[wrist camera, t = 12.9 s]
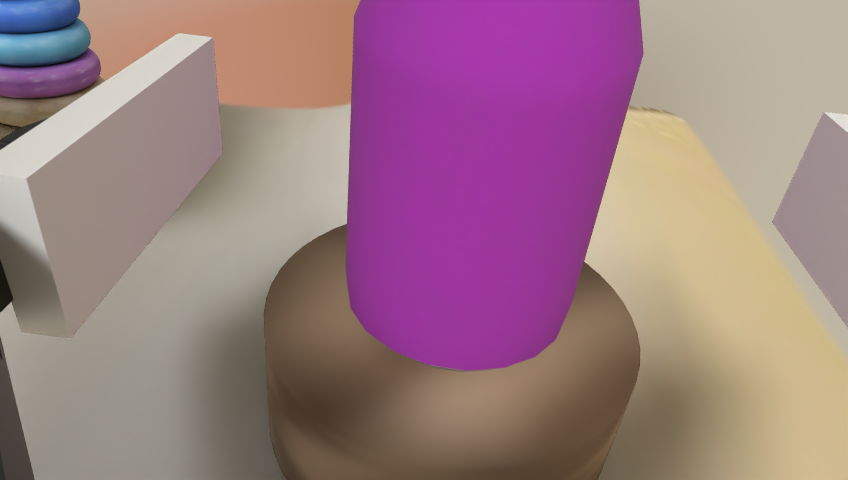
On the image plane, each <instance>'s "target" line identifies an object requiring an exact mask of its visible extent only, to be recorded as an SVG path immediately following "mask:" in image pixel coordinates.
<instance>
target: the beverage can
mask: <svg viewBox="0 0 848 480" xmlns="http://www.w3.org/2000/svg"><path fill="white" fill-rule="evenodd" d="M642 57H643V42H642V30H641V18H640V6H639V0H361V1H360V3H359V5H358V8H357V10H356V13H355V15H354V37H353V66H352V95H351V124H350V153H349V182H348V211H347V240H346V279H347V288H348V294H349V301H350V307H351V310H352V311H353V313H354V314H355V316H356V317H357V319H358V320H359V322H360V323H361V324H362V326H363V327H364V329H365V330H366V331H367V332H368V333H369V334H371V335H372V336H373V337H375V338H376V339H377V340H379V341H380V342H381V343H383V344H384V345H385V346H387V347H388V348H389V349H391V350H392V351H395V352H397V353H399V354H401V355H402V356H404V357H406V358H409V359H411V360H414V361H416V362H419V363H421V364H424V365H426V366H429V367H432V368H438V369H445V370H451V371H457V372H470V371H483V370H492V369H497V368H506V367H508V366H511V365H514V364H517V363H520V362H522V361H525V360H528V359H531V358H534V357H536V356H537V355H538V354H539V353H541V352H542V351H543V350H544V349H545V348H547V347H548V346H549V345H550V344H551V343H553V342H554V341H555V340H556V338H557V336H558V334H559V332H560V329H561V327H562V325H563V322H564V320H565V318H566V316H567V313H568V311H569V309H570V306H571V304H572V301H573V298H574V294H575V291H576V288H577V284H578V281H579V277H580V274H581V270H582V267H583V263H584V260H585V256H586V253H587V249H588V246H589V242H590V239H591V235H592V232H593V228H594V225H595V221H596V218H597V214H598V211H599V207H600V204H601V200H602V197H603V193H604V190H605V186H606V183H607V179H608V176H609V172H610V169H611V165H612V162H613V158H614V155H615V151H616V148H617V144H618V141H619V137H620V134H621V130H622V127H623V123H624V120H625V116H626V113H627V109H628V106H629V102H630V99H631V95H632V92H633V88H634V85H635V81H636V78H637V74H638V71H639V67H640V64H641V60H642Z"/></svg>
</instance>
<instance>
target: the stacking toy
mask: <svg viewBox="0 0 848 480" xmlns="http://www.w3.org/2000/svg"><path fill="white" fill-rule="evenodd" d="M79 13H80V3H79V1H78V0H0V123H4V124H8V125H12V126H19V127H23V126H26V125H29V124H32V123H35V122H38V121H41V120H43V119H46V118H50V117H51V116H53V115H54V114H56V113H57V112H59V111H60V110H62V109H63V108H65V107H67V106H68V105H70V104H71V103H73V102H74V101H76V100H77V99H79V98H80V97H82V96H83V95H85V94H86V93H88V92H89V91H91V90H92V89H94V88H95V87H97V86H98V85H100V84H101V83H103V82H105V81H104V80H103V79H102V78H101V77H100V76H99V75H100V71H101V66H100V61H99V59H98V56H97V55H96V54H95V53H94V52H93V51H92V50H91V49H89V48H88V46H89V45H90V38H91V37H90V32H89V30H88V28H87V26H86V25H85V24H84V22H83V21H81V20H80V19H78V18H77V17H78V15H79Z"/></svg>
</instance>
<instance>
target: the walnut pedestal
mask: <svg viewBox="0 0 848 480" xmlns="http://www.w3.org/2000/svg"><path fill="white" fill-rule="evenodd" d="M346 240H347V224H346V225H343V226H340V227H338V228H335V229H333V230H331V231H329V232H327V233H325V234H323V235H321V236H319V237H317V238H315V239H314V240H312V241H311V242H309V243H308V244H306V245H305V246H303V247H302V248H301V249H300V250H299V251H297V252H296V253H295V254H294V255H293V256H292V257H291V258H290V259H289V260H288V261H287V262H286V263H285V265H284V266H283V267H282V268H281V269H280V271H279V272H278V274H277V276H276V277H275V279H274V281H273V282H272V285H271V287H270V290H269V292H268V295H267V298H266V304H265V310H264V329H265V348H266V366H267V384H268V403H269V421H270V435H271V440H272V444H273V449H274V453H275V455H276V458H277V460H278V463H279V465H280V468H281V470H282V472H283V474H284V475H285V477H286V479H287V480H598V478H599V475H600V473H601V470H602V468H603V465H604V462H605V460H606V457H607V455H608V452H609V450H610V447H611V445H612V442H613V440H614V437H615V434H616V432H617V429H618V427H619V424H620V422H621V419H622V417H623V414H624V412H625V409H626V406H627V404H628V401H629V399H630V396H631V394H632V391H633V389H634V386H635V384H636V380H637V376H638V371H639V367H640V345H639V340H638V334H637V331H636V328H635V325H634V323H633V320H632V317H631V315H630V314H629V312H628V310H627V308H626V306H625V305H624V303H623V301H622V300H621V299H620V297H619V296H618V295H617V293H616V292H615V291H614V289H613V288H612V287H611V286H610V285H609V284H608V283H607V282H606V281H605V280H604V279H603V278H602V277H601V276H600V275H599V274H598V273H597V272H596V271H595V270H593V269H592V268H591V267H590V266H589V265H588V264H586V263H585V262H584V263H583V267H582V270H581V274H580V277H579V281H578V284H577V288H576V291H575V294H574V298H573V301H572V304H571V306H570V309H569V311H568V313H567V316H566V318H565V320H564V322H563V325H562V327H561V329H560V332H559V334H558V336H557V338H556V340H555V341H554V342H553V343H551V344H550V345H549V346H548V347H547V348H545V349H544V350H543V351H542V352H541V353H539V354H538V355H537V356H536V357H534V358H531V359H528V360H525V361H522V362H520V363H517V364H514V365H511V366H508V367H506V368H497V369H492V370H483V371H470V372H457V371H451V370H445V369H438V368H432V367H429V366H426V365H424V364H421V363H419V362H416V361H414V360H411V359H409V358H406V357H404V356H402V355H401V354H399V353H397V352H395V351H392V350H391V349H389V348H388V347H387V346H385V345H384V344H383V343H381V342H380V341H379V340H377V339H376V338H375V337H373V336H372V335H371V334H369V333H368V332H367V331H366V330H365V329H364V327H363V326H362V324H361V323H360V322H359V320H358V319H357V317H356V316H355V314H354V313H353V311H352V310H351V307H350V301H349V294H348V288H347V279H346Z"/></svg>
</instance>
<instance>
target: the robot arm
mask: <svg viewBox="0 0 848 480" xmlns="http://www.w3.org/2000/svg"><path fill="white" fill-rule="evenodd" d="M222 154H223V147H222V135H221V124H220V112H219V100H218V90H217V77H216V65H215V54H214V42H213V37H207V36H199V35H190V34H182V33H177V34H176V35H175V36H173V37H171V38H170V39H169V40H167V41H165V42H164V43H162V44H161V45H159V46H158V47H156V48H155V49H153V50H152V51H150V52H149V53H147V54H146V55H144V56H143V57H141V58H140V59H138V60H137V61H135V62H133V63H132V64H131V65H129V66H127V67H126V68H124V69H123V70H121V71H120V72H118V73H117V74H115V75H114V76H112V77H111V78H109V79H108V80H106V81H105V82H103V83H101V84H100V85H98V86H97V87H95V88H94V89H92V90H91V91H89V92H88V93H86V94H85V95H83V96H82V97H80V98H79V99H77V100H76V101H74V102H73V103H71V104H70V105H68V106H67V107H65V108H63V109H62V110H60V111H59V112H57V113H56V114H54V115H53V116H51V117H50V118H46V119H43V120H41V121H38V122H35V123H32V124H29V125H26V126H23V127H20V128H18V129H17V130H15V131H14V132H12V133H11V134H9V135H7V136H6V137H4V138H3V139H1V140H0V312H1V311H2V310H3V309H4V308H5V307H6V306H7V305H8V304H9V303H10V302H11V301H12V304H13V308H14V311H15V314H16V317H17V320H18V323H19V326H20V329H21V332H27V333H34V334H42V335H49V336H57V337H64V338H71V337H72V336H73V335H74V334H75V332H76V331H77V330H78V329H79V328H80V326H81V325H82V324H83V323H84V322H85V320H86V319H87V318H88V317H89V315H90V314H91V313H92V312H93V311H94V309H95V308H96V307H97V306H98V304H99V303H100V302H101V301H102V300H103V298H104V297H105V296H106V295H107V294H108V292H109V291H110V290H111V289H112V287H113V286H114V285H115V284H116V283H117V281H118V280H119V279H120V278H121V276H122V275H123V274H124V273H125V272H126V270H127V269H128V268H129V267H130V266H131V264H132V263H133V262H134V261H135V259H136V258H137V257H138V256H139V255H140V253H141V252H142V251H143V250H144V248H145V247H146V246H147V245H148V244H149V242H150V241H151V240H152V239H153V238H154V236H155V235H156V234H157V233H158V231H159V230H160V229H161V228H162V227H163V225H164V224H165V223H166V222H167V220H168V219H169V218H170V217H171V216H172V214H173V213H174V212H175V211H176V210H177V208H178V207H179V206H180V205H181V203H182V202H183V201H184V200H185V199H186V197H187V196H188V195H189V194H190V192H191V191H192V190H193V189H194V188H195V186H196V185H197V184H198V183H199V182H200V180H201V179H202V178H203V177H204V175H205V174H206V173H207V172H208V171H209V169H210V168H211V167H212V166H213V164H214V163H215V162H216V161H217V160H218V158H219V157H220V156H221V155H222ZM772 222H773V224H774V225H775V227H776V228H777V230H778V231H779V232H780V234H781V235H782V237H783V238H784V239H785V241H786V242H787V243H788V245H789V246H790V248H791V249H792V250H793V252H794V253H795V255H796V256H797V257H798V259H799V260H800V262H801V263H802V264H803V266H804V267H805V269H806V270H807V271H808V273H809V274H810V276H811V277H812V278H813V280H814V281H815V283H816V284H817V285H818V287H819V288H820V290H821V291H822V292H823V294H824V295H825V297H826V298H827V299H828V301H829V302H830V304H831V305H832V306H833V308H834V309H835V311H836V312H837V313H838V315H839V316H840V317H841V319H842V320H843V322H844V323H845V325H846V326H847V327H848V115H845V114H837V113H829V112H823V114H822V116H821V118H820V120H819V122H818V124H817V127H816V129H815V131H814V133H813V135H812V137H811V139H810V142H809V144H808V146H807V148H806V150H805V152H804V155H803V157H802V159H801V161H800V163H799V165H798V167H797V170H796V172H795V174H794V176H793V179H792V180H791V183H790V185H789V187H788V189H787V191H786V193H785V196H784V198H783V200H782V202H781V204H780V206H779V208H778V211H777V213H776V215H775V217H774V219H773V221H772ZM0 480H34V476H33V471H32V467H31V463H30V459H29V455H28V450H27V446H26V442H25V438H24V434H23V430H22V425H21V421H20V417H19V413H18V409H17V404H16V400H15V396H14V392H13V388H12V384H11V379H10V375H9V371H8V367H7V363H6V359H5V354H4V350H3V346H2V342H1V338H0Z"/></svg>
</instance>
